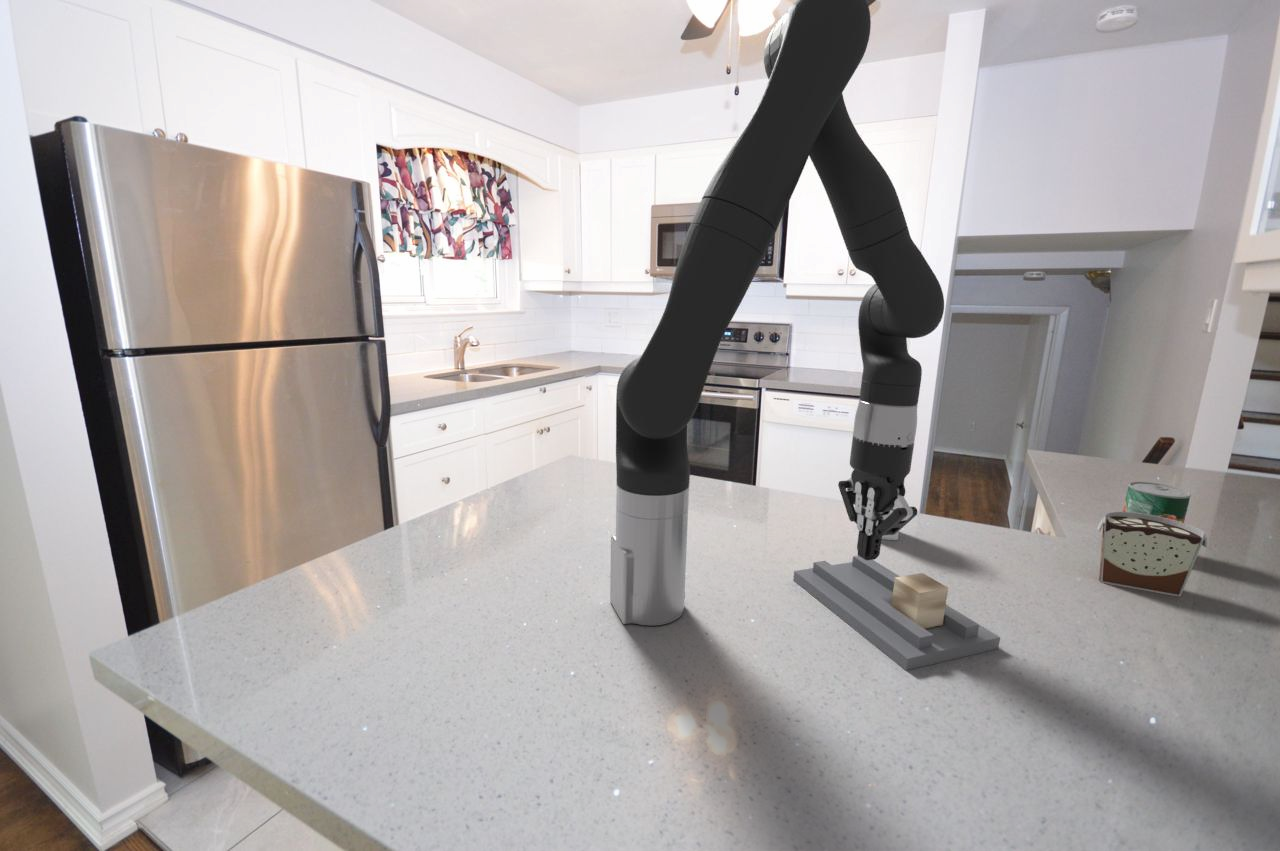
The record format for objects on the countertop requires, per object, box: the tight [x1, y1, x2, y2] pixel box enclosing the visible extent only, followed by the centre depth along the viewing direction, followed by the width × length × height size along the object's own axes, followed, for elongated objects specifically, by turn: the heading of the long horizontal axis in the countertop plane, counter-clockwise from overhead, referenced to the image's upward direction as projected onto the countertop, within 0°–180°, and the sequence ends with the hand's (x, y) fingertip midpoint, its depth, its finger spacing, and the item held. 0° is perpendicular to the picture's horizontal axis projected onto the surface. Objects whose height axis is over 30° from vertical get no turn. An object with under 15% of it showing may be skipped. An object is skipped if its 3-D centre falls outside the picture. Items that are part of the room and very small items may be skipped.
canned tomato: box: [1122, 481, 1192, 523], centre depth 97 cm, size 8×8×11 cm
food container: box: [1097, 511, 1208, 598], centre depth 86 cm, size 12×6×10 cm, turn 65°
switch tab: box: [891, 572, 949, 629], centre depth 71 cm, size 4×4×5 cm
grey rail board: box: [793, 555, 1001, 671], centre depth 76 cm, size 22×14×3 cm, turn 19°
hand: (867, 557), depth 79 cm, fingers closed
